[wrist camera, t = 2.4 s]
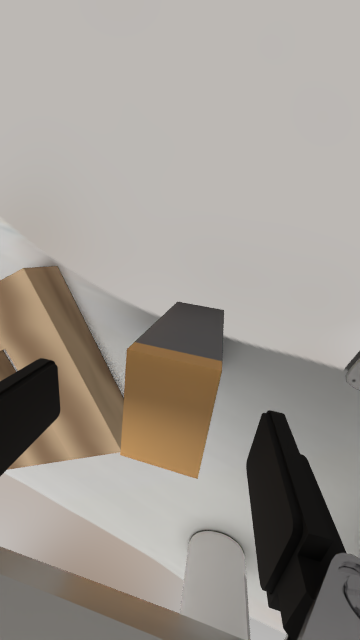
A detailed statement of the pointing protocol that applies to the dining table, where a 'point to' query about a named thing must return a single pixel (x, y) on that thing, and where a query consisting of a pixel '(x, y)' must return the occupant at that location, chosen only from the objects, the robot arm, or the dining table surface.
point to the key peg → (173, 388)
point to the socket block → (60, 366)
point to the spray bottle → (216, 584)
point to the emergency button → (354, 372)
